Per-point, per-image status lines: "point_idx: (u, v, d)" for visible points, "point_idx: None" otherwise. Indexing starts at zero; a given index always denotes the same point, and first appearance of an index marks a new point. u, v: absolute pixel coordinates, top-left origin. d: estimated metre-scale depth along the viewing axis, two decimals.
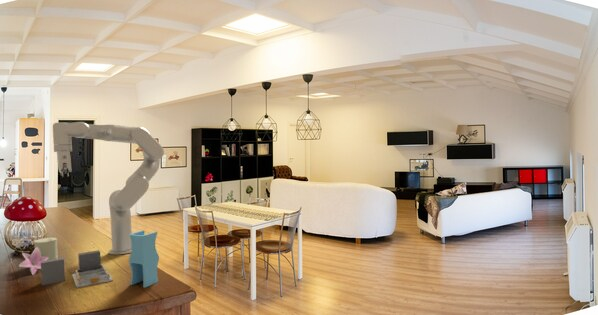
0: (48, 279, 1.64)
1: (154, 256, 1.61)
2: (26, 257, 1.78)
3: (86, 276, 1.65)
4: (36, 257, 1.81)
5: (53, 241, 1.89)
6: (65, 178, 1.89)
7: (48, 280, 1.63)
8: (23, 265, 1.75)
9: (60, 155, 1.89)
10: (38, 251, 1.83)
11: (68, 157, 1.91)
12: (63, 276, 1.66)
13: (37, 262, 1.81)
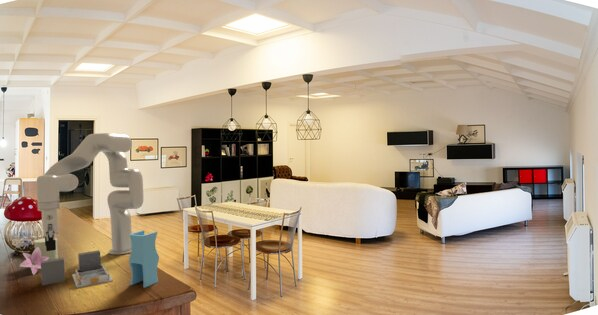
0: (48, 279, 1.64)
1: (154, 256, 1.61)
2: (27, 257, 1.78)
3: (86, 276, 1.65)
4: (37, 257, 1.81)
5: None
6: (50, 242, 1.60)
7: (48, 280, 1.63)
8: (24, 265, 1.75)
9: (45, 215, 1.60)
10: (39, 251, 1.83)
11: (54, 217, 1.61)
12: (63, 276, 1.66)
13: (38, 262, 1.81)
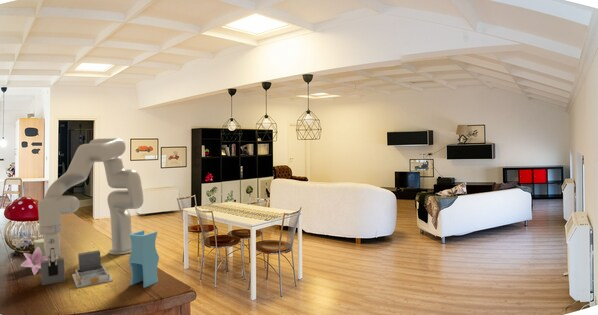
0: (48, 279, 1.64)
1: (154, 256, 1.61)
2: (27, 257, 1.78)
3: (86, 276, 1.65)
4: (37, 257, 1.82)
5: None
6: (52, 267, 1.63)
7: (48, 280, 1.63)
8: (25, 265, 1.75)
9: (47, 239, 1.60)
10: (39, 251, 1.83)
11: (56, 241, 1.62)
12: (63, 276, 1.66)
13: (38, 262, 1.81)
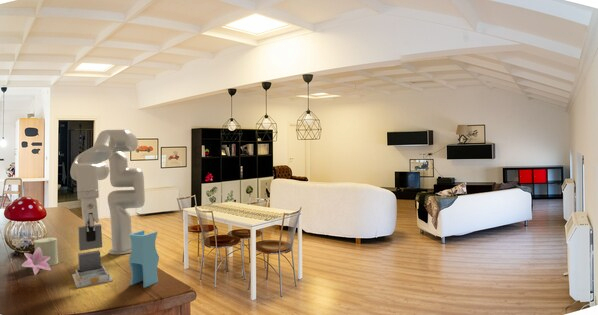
0: (86, 244, 1.62)
1: (154, 256, 1.61)
2: (28, 257, 1.78)
3: (86, 276, 1.65)
4: (38, 257, 1.82)
5: (53, 241, 1.89)
6: (91, 233, 1.61)
7: (86, 246, 1.62)
8: (26, 265, 1.75)
9: (85, 204, 1.59)
10: (40, 251, 1.83)
11: (95, 206, 1.60)
12: (100, 242, 1.65)
13: (39, 262, 1.81)
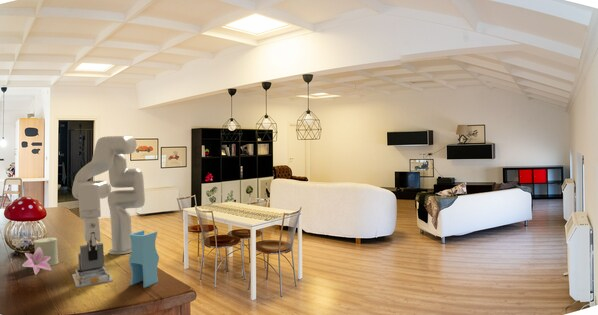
0: (88, 263, 1.62)
1: (154, 256, 1.61)
2: (29, 257, 1.78)
3: (86, 276, 1.65)
4: (38, 257, 1.82)
5: (53, 241, 1.89)
6: (92, 252, 1.62)
7: (87, 265, 1.62)
8: (26, 265, 1.75)
9: (87, 223, 1.59)
10: (40, 251, 1.83)
11: (97, 225, 1.61)
12: (102, 261, 1.65)
13: (39, 262, 1.81)
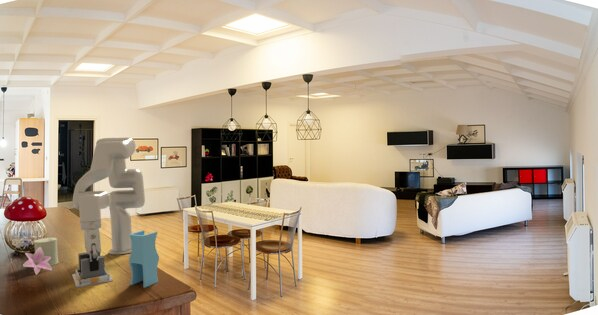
0: (89, 277, 1.63)
1: (154, 256, 1.61)
2: (29, 257, 1.78)
3: None
4: (39, 257, 1.82)
5: (53, 241, 1.89)
6: (94, 263, 1.60)
7: None
8: (27, 265, 1.75)
9: (88, 234, 1.59)
10: (41, 251, 1.83)
11: (97, 236, 1.61)
12: (103, 274, 1.65)
13: (40, 262, 1.81)
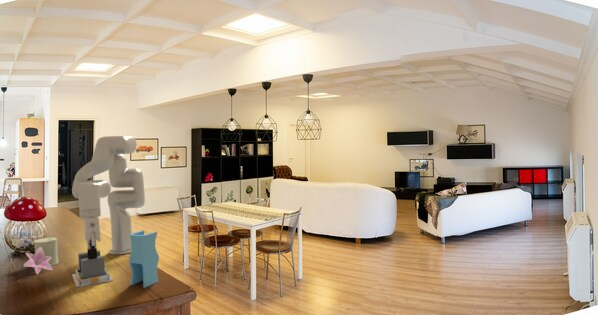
0: (89, 277, 1.63)
1: (154, 256, 1.61)
2: (30, 257, 1.78)
3: None
4: (39, 257, 1.82)
5: (53, 241, 1.89)
6: (92, 251, 1.63)
7: None
8: (28, 265, 1.75)
9: (87, 223, 1.59)
10: (41, 251, 1.83)
11: (97, 224, 1.61)
12: (103, 274, 1.65)
13: (41, 262, 1.82)
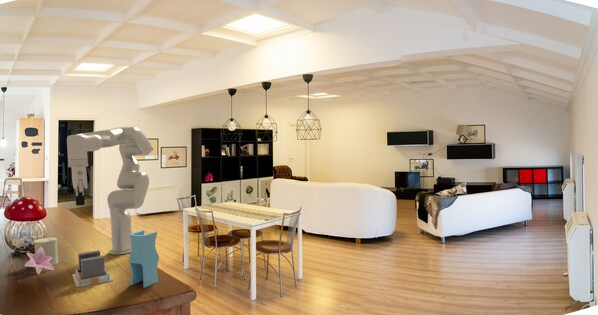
0: (89, 277, 1.63)
1: (154, 256, 1.61)
2: (31, 257, 1.78)
3: None
4: (40, 257, 1.82)
5: (53, 241, 1.89)
6: (80, 198, 1.77)
7: None
8: (29, 265, 1.75)
9: (75, 171, 1.73)
10: (42, 251, 1.83)
11: (84, 173, 1.75)
12: (103, 274, 1.65)
13: (41, 262, 1.82)
